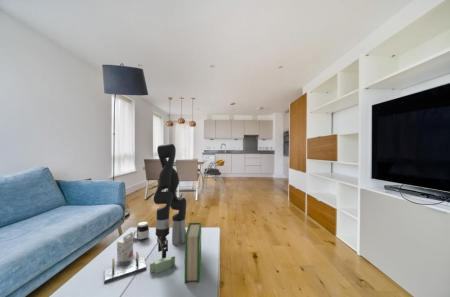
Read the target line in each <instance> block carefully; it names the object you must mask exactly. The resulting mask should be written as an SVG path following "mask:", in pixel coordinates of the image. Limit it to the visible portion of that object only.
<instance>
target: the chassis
mask: <svg viewBox="0 0 450 297" xmlns="http://www.w3.org/2000/svg"><path fill="white" fill-rule="evenodd" d="M111 262H112V263H111V265H108V266H106V267H104V269H103V270H104V284H107V283H110V282H112V281H117V280H119V279H121V278H122V279H123V278H125V277H127V276H131V275H135V274H136V273H139V272H143V271H146V270H147V265H146V262H145V260H144V257H143V256H140V255H139V251H136V252H135V258H133V259H129V260H127V261H126V260H125V261H122V262H120V263H116V262H115V258H112V261H111Z"/></svg>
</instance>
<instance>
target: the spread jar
mask: <svg viewBox="0 0 450 297" xmlns="http://www.w3.org/2000/svg"><path fill="white" fill-rule="evenodd" d="M148 223H149V222H147V221H142V222H141V221H140V222H139V223H138V224H137V226H136V229H134V231H133V240H134V238H135V236H136V239H137V241H145V240H147V239H148V238H149V237H150V228H149V225H148Z"/></svg>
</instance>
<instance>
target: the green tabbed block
mask: <svg viewBox="0 0 450 297" xmlns="http://www.w3.org/2000/svg"><path fill="white" fill-rule="evenodd" d="M175 265H176V255H172V256H170V254H169V255H166V258H164V259H162V257H159V258H155V259H154V260H153V261H152V262H149V273H150V274H151V273H154V272H155V274H157V273H160V272H163V271H166V270H169V269H172V268H173V267H172V266H175Z"/></svg>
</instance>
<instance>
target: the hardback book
mask: <svg viewBox="0 0 450 297" xmlns="http://www.w3.org/2000/svg"><path fill="white" fill-rule="evenodd" d="M201 264H202V222H188V225H187V229H186V235H185V243H184V284H186V283H187V282H190V281H196V282H197V283H198V284H199V283H200V276H201V268H202V266H201Z"/></svg>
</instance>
